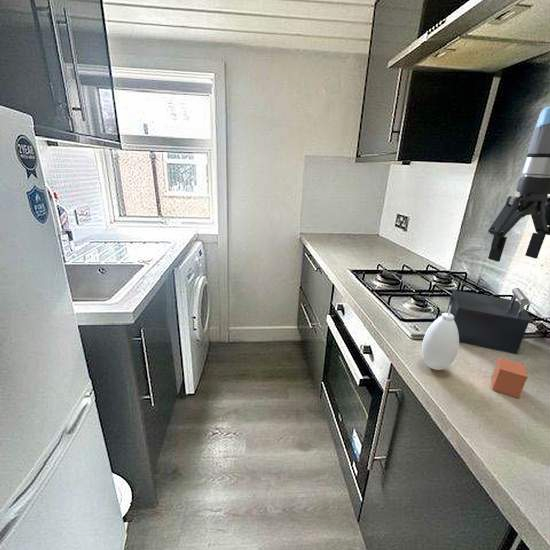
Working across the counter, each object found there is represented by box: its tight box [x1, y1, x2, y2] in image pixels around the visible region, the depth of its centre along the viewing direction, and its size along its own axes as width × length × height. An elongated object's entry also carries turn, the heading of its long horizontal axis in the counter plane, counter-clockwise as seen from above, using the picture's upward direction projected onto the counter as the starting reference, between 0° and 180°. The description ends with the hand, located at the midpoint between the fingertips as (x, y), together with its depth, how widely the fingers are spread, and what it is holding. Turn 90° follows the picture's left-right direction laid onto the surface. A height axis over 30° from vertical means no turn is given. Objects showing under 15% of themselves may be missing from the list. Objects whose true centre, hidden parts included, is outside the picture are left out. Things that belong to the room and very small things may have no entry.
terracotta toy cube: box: [490, 357, 528, 399], centre depth 70 cm, size 5×5×6 cm
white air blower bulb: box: [421, 305, 460, 371], centre depth 74 cm, size 8×8×18 cm
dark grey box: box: [446, 293, 530, 355], centre depth 91 cm, size 17×14×10 cm
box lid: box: [451, 287, 534, 325], centre depth 88 cm, size 18×14×6 cm
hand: (512, 258), depth 82 cm, fingers open, 13 cm apart
